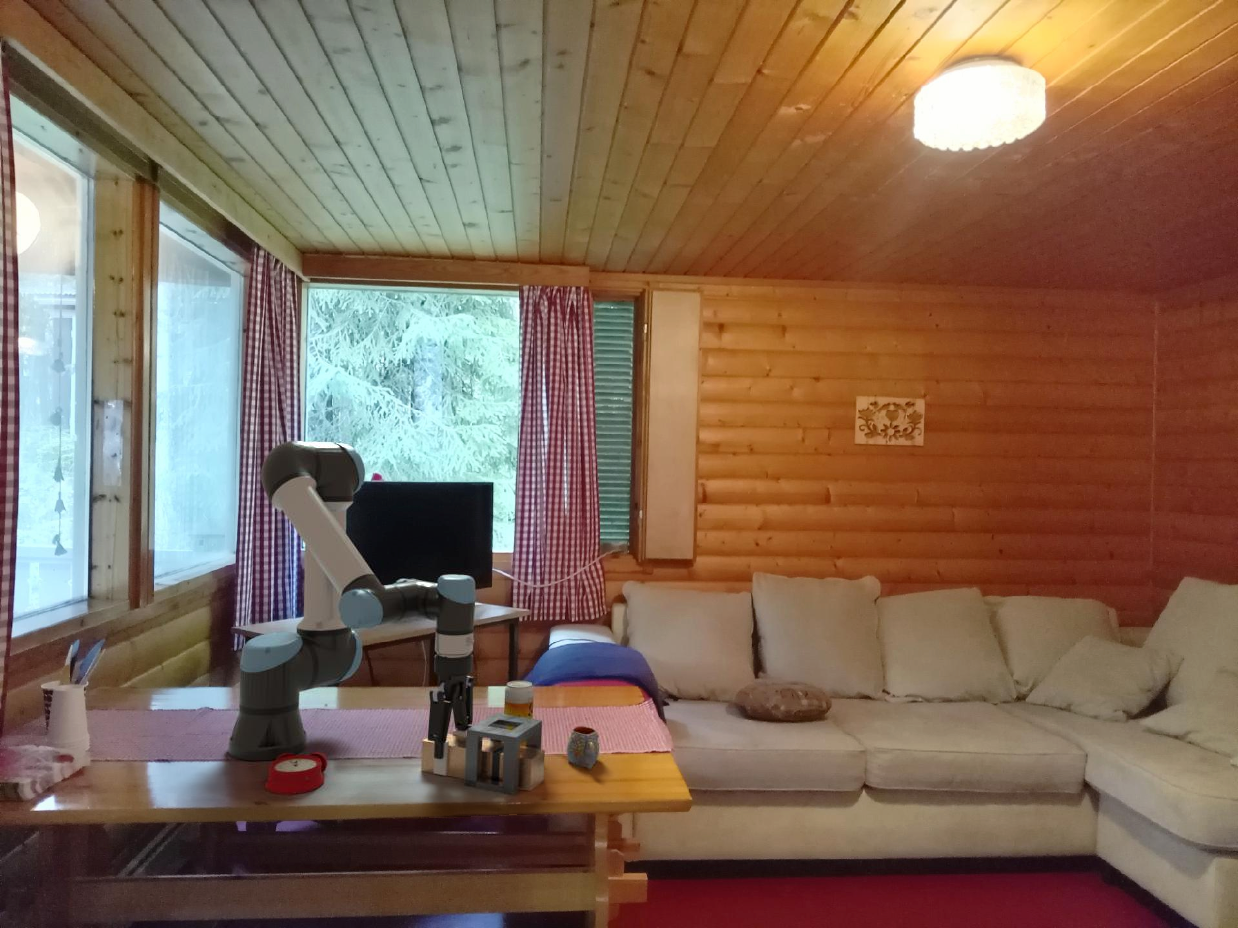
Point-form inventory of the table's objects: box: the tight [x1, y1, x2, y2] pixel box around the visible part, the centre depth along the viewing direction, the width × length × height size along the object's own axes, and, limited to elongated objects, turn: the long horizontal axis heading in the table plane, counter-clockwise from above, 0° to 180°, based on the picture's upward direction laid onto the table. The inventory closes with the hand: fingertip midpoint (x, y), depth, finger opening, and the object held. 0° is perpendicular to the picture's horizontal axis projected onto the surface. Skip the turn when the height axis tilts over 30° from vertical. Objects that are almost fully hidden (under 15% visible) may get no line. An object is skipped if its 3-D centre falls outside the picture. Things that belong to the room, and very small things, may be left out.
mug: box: [566, 725, 600, 770], centre depth 177 cm, size 12×7×7 cm, turn 12°
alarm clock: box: [264, 752, 328, 797], centre depth 162 cm, size 10×6×15 cm
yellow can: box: [503, 680, 535, 747], centre depth 181 cm, size 6×6×15 cm
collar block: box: [464, 712, 543, 796], centre depth 167 cm, size 10×12×11 cm
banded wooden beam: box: [420, 733, 546, 792], centre depth 168 cm, size 24×6×6 cm, turn 70°
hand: (449, 767), depth 171 cm, fingers closed on banded wooden beam, 6 cm apart
